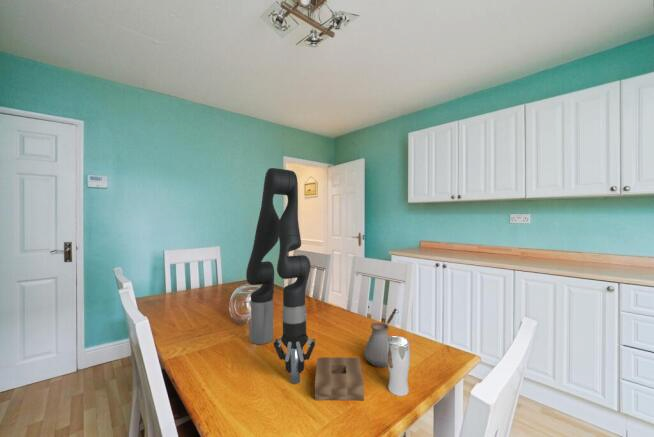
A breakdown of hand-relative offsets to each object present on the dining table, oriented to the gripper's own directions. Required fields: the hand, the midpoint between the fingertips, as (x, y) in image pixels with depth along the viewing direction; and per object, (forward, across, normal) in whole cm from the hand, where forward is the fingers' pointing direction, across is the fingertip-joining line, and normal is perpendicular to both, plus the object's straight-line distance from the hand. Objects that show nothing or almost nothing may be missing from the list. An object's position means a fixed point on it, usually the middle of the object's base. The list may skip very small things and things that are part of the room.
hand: (295, 371), depth 88 cm
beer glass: (+3, +32, -4) cm, 32 cm away
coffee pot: (+3, +32, +16) cm, 36 cm away
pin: (+3, 0, 0) cm, 3 cm away
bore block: (+3, +14, -2) cm, 14 cm away
